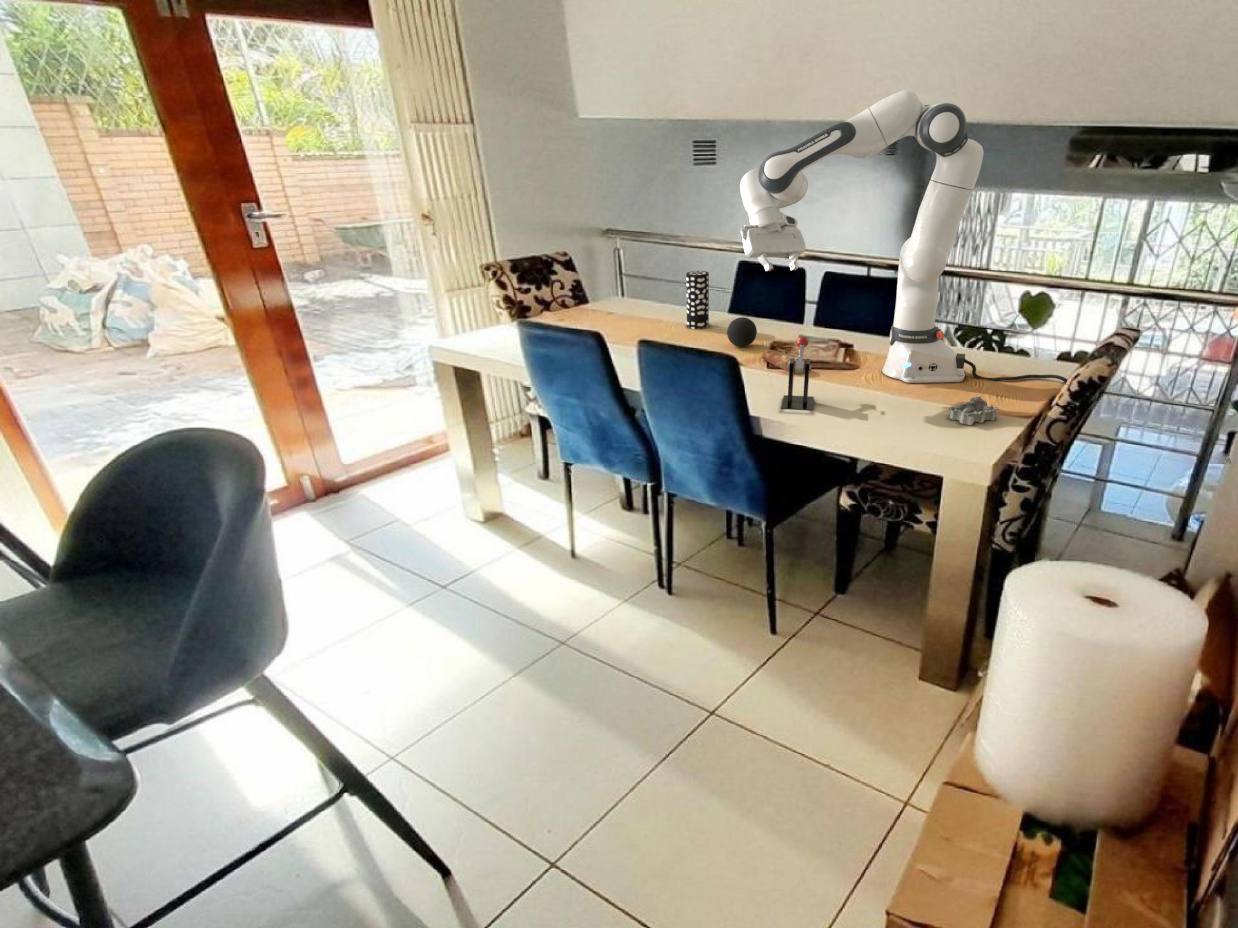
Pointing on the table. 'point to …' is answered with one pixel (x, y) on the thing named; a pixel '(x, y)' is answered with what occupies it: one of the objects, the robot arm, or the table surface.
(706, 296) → the white-spotted black cylinder
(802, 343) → the lever
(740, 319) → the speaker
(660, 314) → the table surface
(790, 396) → the bracket
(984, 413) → the grey lumpy block
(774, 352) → the bread
